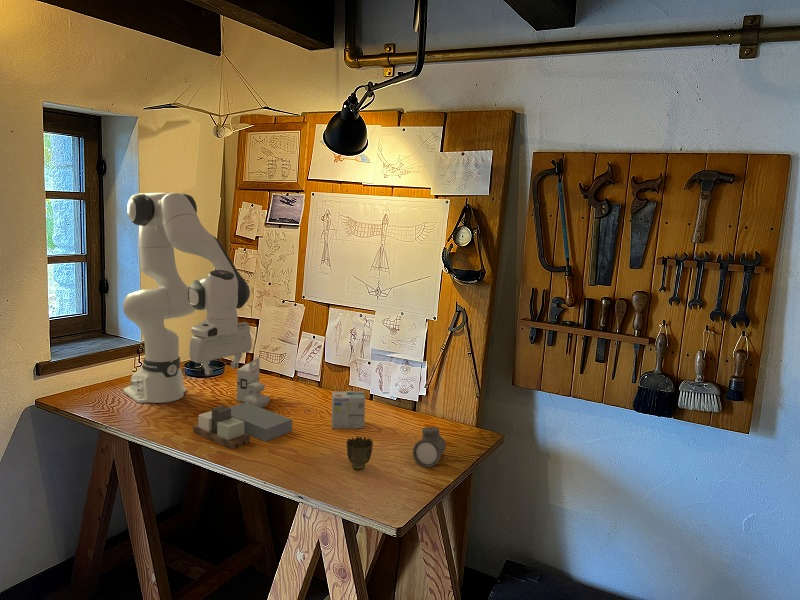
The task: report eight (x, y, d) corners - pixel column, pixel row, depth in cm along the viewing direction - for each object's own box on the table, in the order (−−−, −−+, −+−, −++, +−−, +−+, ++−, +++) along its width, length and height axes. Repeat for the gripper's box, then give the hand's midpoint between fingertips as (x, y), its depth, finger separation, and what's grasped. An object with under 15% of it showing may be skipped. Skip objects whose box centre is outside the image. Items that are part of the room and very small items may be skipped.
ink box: (246, 393, 229) (247, 355, 227) (259, 395, 228) (260, 356, 226) (236, 401, 221) (236, 361, 218) (249, 403, 220) (249, 362, 217)
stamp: (253, 413, 211) (253, 389, 209) (239, 408, 214) (240, 385, 213) (272, 406, 218) (273, 383, 217) (259, 401, 222) (259, 379, 220)
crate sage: (217, 435, 186) (217, 422, 185) (233, 429, 191) (233, 417, 190) (228, 440, 183) (228, 427, 182) (244, 434, 188) (244, 421, 187)
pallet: (193, 433, 192) (193, 404, 191) (211, 427, 198) (211, 398, 196) (231, 450, 182) (231, 419, 180) (249, 443, 188) (250, 413, 186)
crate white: (198, 427, 191) (198, 414, 190) (214, 421, 196) (214, 409, 195) (208, 431, 188) (208, 419, 187) (224, 426, 193) (224, 414, 192)
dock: (218, 422, 201) (218, 410, 200) (245, 413, 210) (245, 402, 209) (265, 441, 189) (265, 429, 188) (291, 431, 198) (292, 419, 197)
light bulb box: (362, 421, 210) (364, 390, 208) (364, 428, 203) (366, 397, 201) (330, 421, 208) (331, 390, 206) (331, 429, 201) (333, 397, 200)
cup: (345, 462, 178) (346, 435, 177) (371, 462, 179) (372, 436, 177) (345, 474, 171) (346, 446, 169) (372, 474, 172) (373, 447, 170)
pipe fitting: (438, 470, 176) (439, 434, 175) (411, 466, 179) (412, 430, 178) (450, 458, 187) (451, 424, 187) (425, 455, 190) (426, 421, 189)
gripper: (242, 319, 194) (242, 362, 196) (186, 329, 177) (186, 375, 180) (256, 322, 190) (255, 366, 193) (200, 333, 174) (200, 380, 176)
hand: (221, 371), depth 186 cm, fingers open, 8 cm apart
